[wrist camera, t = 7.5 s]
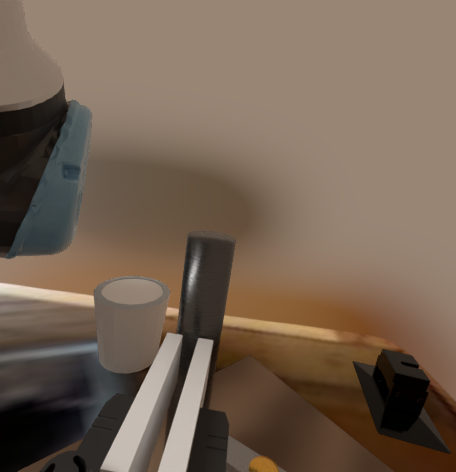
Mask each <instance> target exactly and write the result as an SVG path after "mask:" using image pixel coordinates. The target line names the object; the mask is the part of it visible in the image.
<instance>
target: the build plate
mask: <svg viewBox="0 0 456 472" xmlns="http://www.w3.org/2000/svg"><path fill="white" fill-rule="evenodd" d="M353 364H354V367H355V370H356V373H357V376H358V379H359V381H360V384H361V387H362V390H363V393H364V395H365V398H366V401H367V404H368V407H369V409H370V412H371V415H372V418H373V421H374V424H375V426H376V429H377V432H378V433H379V434H381V435H385V436H388V437H392V438H395V439H399V440H402V441H406V442H409V443H413V444H417V445H420V446H424V447H427V448H431V449H434V450H438V451H441V452H445V453H448V454H451V452H450V451H449V449H448V447H447V446H446V444H445V442H444V441H443V439H442V437H441V436H440V434H439V432H438V430H437V429H436V427H435V425H434V424H433V422H432V420H431V419H430V417H429V415H428V414H427V412H426V410H425V409H424V407H423V406H424V403H425V401H426V398H427V396H428V391H427V389H428V386H429V383H430V380H429V379H428V377H427V376H426V374H425V373H424V372H423V370H421V369H418V368H419V364H418V363H417V362H416V360H415V359H414V357H413V356H411V355H407V354H403V353H398V352H394V351H390V350H385V349H382V351H381V354H380V355H378V359H377V362H376V365H375V366H372V365H368V364H363V363H359V362H355V361H353Z"/></svg>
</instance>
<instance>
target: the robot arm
mask: <svg viewBox="0 0 456 472" xmlns="http://www.w3.org/2000/svg"><path fill="white" fill-rule="evenodd" d="M91 120H92V113H91V111H90V109H88V108H87V107H86V106H83V105H80V104H79V103H78V102H77V101H76V100H72V101H68V102H66V99H65V92H64V82H63V76H62V71H61V68H60V66H59V65H58V63H57V62H56V61H55V60H54V59H53V58H52V57H51V56H50V55H49V54H48V53H47V52H46V51H45V50H44V49H43V48H42V47H41V46H40V45H39V44H38V43H37V42H36V41H35V40H34V39H33V38H32V37H31V35H30V34H29V32H28V31H27V26H26V20H25V14H24V8H23V3H22V0H0V257H3V258H6V259H12V258H14V257H16V256H39V255H54V254H57V253H60V252H62V251H64V250H65V249H67V248H68V246H70V244H71V243H72V241H73V239H74V236H75V233H76V228H77V223H78V218H79V212H80V207H81V202H82V195H83V189H84V182H85V176H86V169H87V162H88V154H89V147H90V138H91V126H92V123H91ZM182 338H183V335H179V334H173V333H167V335H166V337H165V339H164V341H163V343H162V345H161V347H160V349H159V351H158V353H157V355H156V358H155V360H154V362H153V364H152V366H151V368H150V370H149V372H148V374H147V376H146V378H145V380H144V382H143V384H142V386H141V388H140V390H139V392H138V394H137V396H136V397H135V396H129V395H124V394H118V393H117V394H116V395H115V396H113V397H112V398H111V399H110V400H109V401H107V402H106V403H105V405H104V407H103V408H102V410H101V411H100V413H99V415H98V417H97V418H96V420H95V421H94V423H93V424H92V427H91V428H90V429H89V431H88V433H87V434H86V436H85V438H84V439H83V441H82V442H81V444H80V446H79V447H78V449H77V451H67V452H64V453H61V454H58V455H57V456H55V457H54V458H52V459H51V460H50V461H48V462H47V463H46V464H45V465H44V467H43V468H42V469H41V470H40V472H147V469H148V466H149V463H150V460H151V457H152V454H153V451H154V449H155V446H156V443H157V440H158V437H159V434H160V431H161V428H162V425H163V422H164V419H165V416H166V413H167V410H168V407H169V404H170V401H171V398H172V395H173V393H174V390H175V387H176V384H177V380H178V372H179V363H180V355H181V346H182ZM212 347H213V340H208V339H202V338H198V341H197V344H196V347H195V351H194V354H193V357H192V361H191V364H190V367H189V370H188V374H187V377H186V380H185V384H184V387H183V390H182V394H181V397H180V400H179V403H178V407H177V410H176V413H175V417H174V420H173V423H172V426H171V430H170V433H169V436H168V440H167V443H166V446H165V450H164V453H163V456H162V459H161V463H160V466H159V469H158V472H226V461H227V448H228V436H229V422H228V419H227V416H226V413H225V412H222V411H217V410H211V409H206V408H202V407H203V402H204V397H205V392H206V387H207V380H208V374H209V367H210V360H211V354H212Z"/></svg>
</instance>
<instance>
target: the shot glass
mask: <svg viewBox="0 0 456 472" xmlns="http://www.w3.org/2000/svg"><path fill="white" fill-rule="evenodd" d="M169 296H170V290H169V288H168V287H167V285H165V284H164V283H162V282H160V281H158V280H155V279H152V278H148V277H140V276H126V277H118V278H113V279H109V280H107V281H105V282H103V283H101V284H99V285H98V286H97V287H96V288H95V289H94V304H95V316H96V329H97V341H98V353H99V362H100V364H101V365H102V366H103V367H104V368H105V369H107V370H109V371H111V372H114V373H124V374H128V373H133V372H138V371H141V370H143V369H145V368H147V367H149V366H150V365H151V364H152V363H153V362H154V360H155V358H156V355H157V353H158V350H159V345H160V340H161V335H162V330H163V325H164V320H165V315H166V310H167V305H168V301H169Z"/></svg>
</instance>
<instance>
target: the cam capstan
mask: <svg viewBox="0 0 456 472" xmlns="http://www.w3.org/2000/svg"><path fill="white" fill-rule="evenodd" d="M235 243H236V240H235V239H234V238H233V237H231V236H229V235H226V234H222V233H218V232H212V231H193V232H190V233H188V236H187V246H186V254H185V263H184V272H183V281H182V291H181V298H180V308H179V316H178V325H177V334H179V335H183V338H182V346H181V355H180V363H179V372H178V380H177V384H176V387H175V390H174V393H173V395H172V398H171V401H170V404H169V407H168V413H167V422H166V431H165V440H164V448H163V453H164V450H165V446H166V443H167V440H168V436H169V433H170V430H171V426H172V423H173V420H174V417H175V413H176V410H177V407H178V403H179V400H180V397H181V394H182V390H183V387H184V384H185V380H186V377H187V374H188V370H189V367H190V364H191V361H192V357H193V354H194V351H195V347H196V344H197V341H198V338H202V339H208V340H213V347H212V354H211V360H210V367H209V374H208V380H207V387H206V392H205V397H204V402H203V407H202V408H206V409H209V407H210V401H211V395H212V388H213V382H214V376H215V369H216V363H217V357H218V351H219V344H220V338H221V332H222V325H223V319H224V313H225V306H226V300H227V293H228V287H229V281H230V275H231V268H232V262H233V256H234V249H235ZM226 472H286V471H285V470H283V469H282V468H280V467H279V466H278V465H277V464H276V463H275V462H274V461H273V460H272V459H270V458H269V457H266V456H263V455H259V454H258V453H256V452H254V451H253V450H251V449H250V448H248V447H246V446H245V445H243V444H242V443H240V442H239V441H237V440H235V439H234V438H232V437H231V436H228V448H227V461H226Z"/></svg>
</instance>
